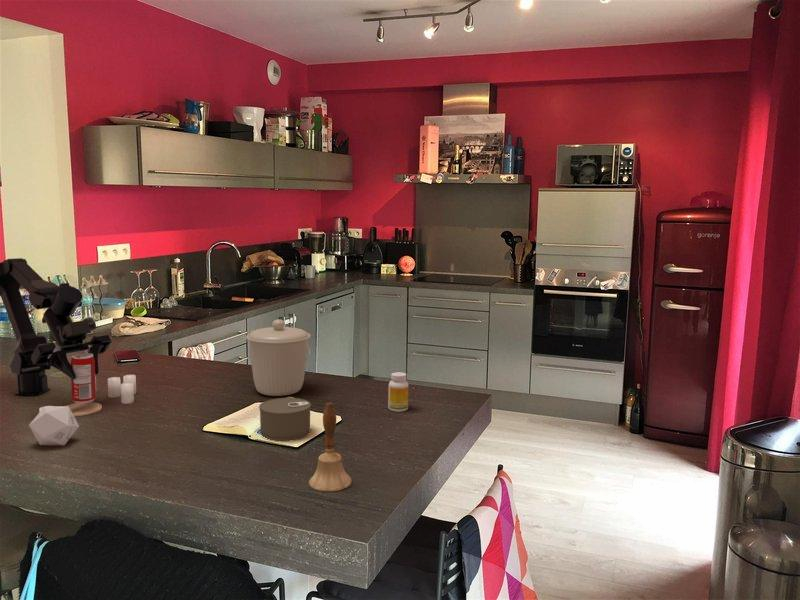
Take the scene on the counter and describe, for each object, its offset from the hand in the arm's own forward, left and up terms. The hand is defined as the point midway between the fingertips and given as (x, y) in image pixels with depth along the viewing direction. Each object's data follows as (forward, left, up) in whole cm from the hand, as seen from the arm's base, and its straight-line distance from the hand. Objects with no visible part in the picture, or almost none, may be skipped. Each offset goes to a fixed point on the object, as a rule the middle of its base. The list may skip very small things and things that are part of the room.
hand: (86, 376), depth 165 cm
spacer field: (-1, +3, -10) cm, 10 cm away
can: (+53, -10, -10) cm, 55 cm away
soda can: (-1, +1, -7) cm, 7 cm away
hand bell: (+68, -37, -10) cm, 78 cm away
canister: (+44, +24, -10) cm, 51 cm away
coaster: (-3, +2, -10) cm, 10 cm away
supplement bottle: (+79, +11, -10) cm, 80 cm away
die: (+4, -21, -10) cm, 24 cm away
